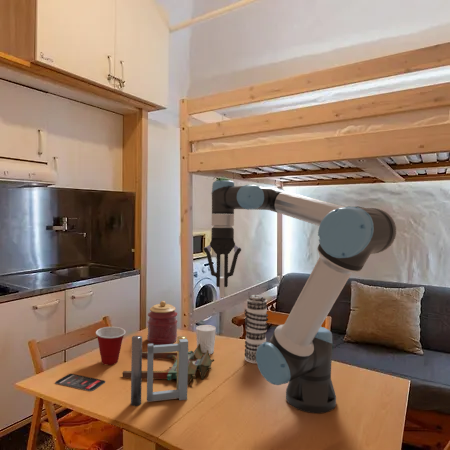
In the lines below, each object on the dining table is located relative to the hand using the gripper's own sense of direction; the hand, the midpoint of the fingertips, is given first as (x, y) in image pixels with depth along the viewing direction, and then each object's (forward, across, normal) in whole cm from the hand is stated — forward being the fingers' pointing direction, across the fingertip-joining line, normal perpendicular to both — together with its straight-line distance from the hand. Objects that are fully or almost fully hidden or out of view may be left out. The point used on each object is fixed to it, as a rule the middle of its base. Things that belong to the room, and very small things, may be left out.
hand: (221, 296), depth 126 cm
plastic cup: (+29, +42, -14) cm, 52 cm away
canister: (+29, +26, -39) cm, 55 cm away
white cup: (+29, +6, -26) cm, 39 cm away
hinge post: (+29, +25, +15) cm, 41 cm away
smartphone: (+29, +47, +3) cm, 55 cm away
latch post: (+29, +13, +9) cm, 33 cm away
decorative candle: (+29, -14, -20) cm, 38 cm away
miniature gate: (+30, +18, -9) cm, 36 cm away
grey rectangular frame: (+29, +17, +13) cm, 36 cm away
